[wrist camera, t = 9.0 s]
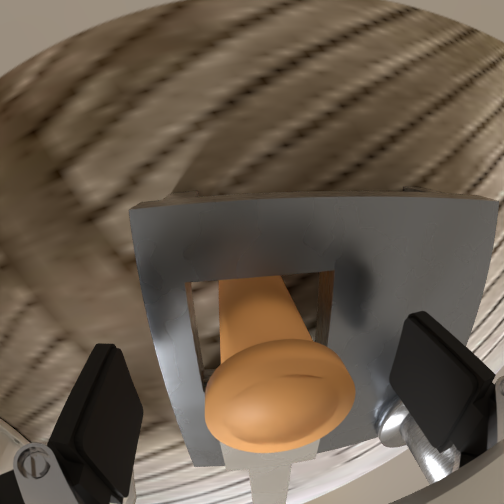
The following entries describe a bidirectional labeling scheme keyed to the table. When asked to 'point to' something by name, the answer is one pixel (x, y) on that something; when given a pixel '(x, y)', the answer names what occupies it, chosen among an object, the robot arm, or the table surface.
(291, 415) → the pin
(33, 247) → the table surface
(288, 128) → the table surface
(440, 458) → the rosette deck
